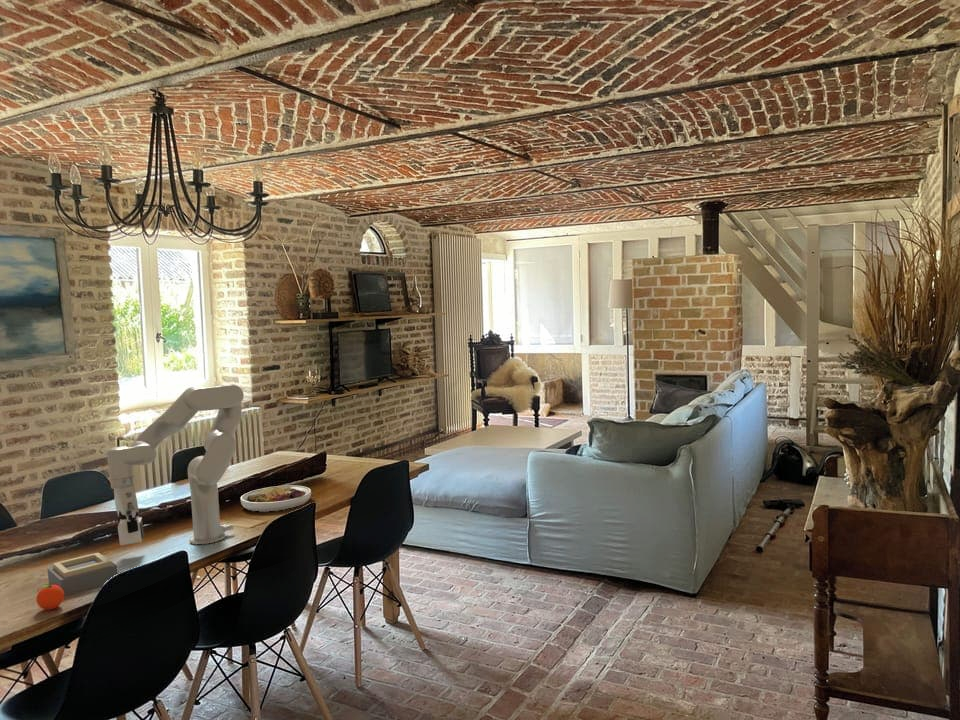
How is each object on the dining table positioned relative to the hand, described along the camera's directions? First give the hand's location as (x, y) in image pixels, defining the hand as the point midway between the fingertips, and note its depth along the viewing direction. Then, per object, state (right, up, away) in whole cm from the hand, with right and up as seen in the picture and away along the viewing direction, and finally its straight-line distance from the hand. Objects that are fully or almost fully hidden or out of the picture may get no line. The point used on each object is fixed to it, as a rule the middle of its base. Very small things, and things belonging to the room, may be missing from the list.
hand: (128, 529), depth 249 cm
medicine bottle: (+1, -4, +1) cm, 5 cm away
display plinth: (-3, -11, -23) cm, 26 cm away
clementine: (-1, -13, -44) cm, 46 cm away
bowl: (+34, -5, +64) cm, 72 cm away
